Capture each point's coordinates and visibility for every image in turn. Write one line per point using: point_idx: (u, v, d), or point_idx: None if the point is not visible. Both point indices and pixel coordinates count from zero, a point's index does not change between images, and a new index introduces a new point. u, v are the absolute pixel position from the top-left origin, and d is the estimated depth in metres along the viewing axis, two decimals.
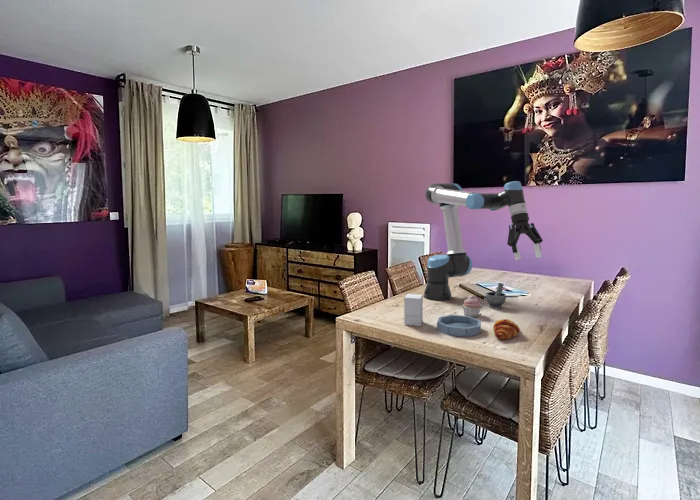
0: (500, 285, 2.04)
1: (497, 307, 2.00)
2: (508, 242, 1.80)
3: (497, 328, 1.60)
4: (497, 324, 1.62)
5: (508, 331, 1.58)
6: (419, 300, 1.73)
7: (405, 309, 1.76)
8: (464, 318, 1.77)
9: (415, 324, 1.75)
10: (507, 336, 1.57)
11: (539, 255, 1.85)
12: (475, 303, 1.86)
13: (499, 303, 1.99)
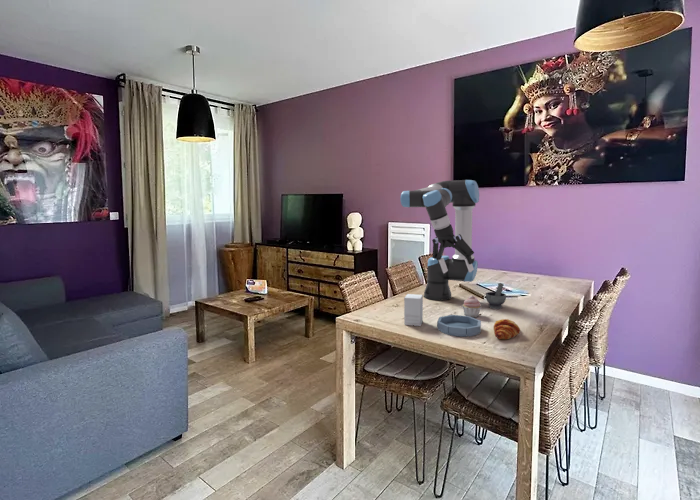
0: (500, 285, 2.04)
1: (497, 307, 2.00)
2: None
3: (497, 328, 1.60)
4: (497, 324, 1.62)
5: (508, 331, 1.58)
6: (419, 300, 1.73)
7: (405, 309, 1.76)
8: (464, 318, 1.77)
9: (415, 324, 1.75)
10: (507, 336, 1.57)
11: None
12: (475, 303, 1.86)
13: (499, 303, 1.99)
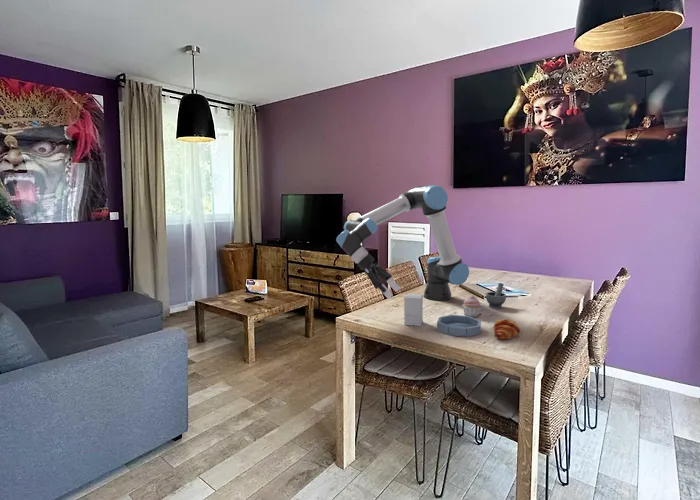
0: (500, 285, 2.04)
1: (497, 307, 2.00)
2: None
3: (497, 328, 1.60)
4: (497, 324, 1.62)
5: (508, 331, 1.58)
6: (419, 300, 1.73)
7: (405, 309, 1.76)
8: (464, 318, 1.77)
9: (415, 324, 1.75)
10: (507, 336, 1.57)
11: None
12: (475, 303, 1.86)
13: (499, 303, 1.99)
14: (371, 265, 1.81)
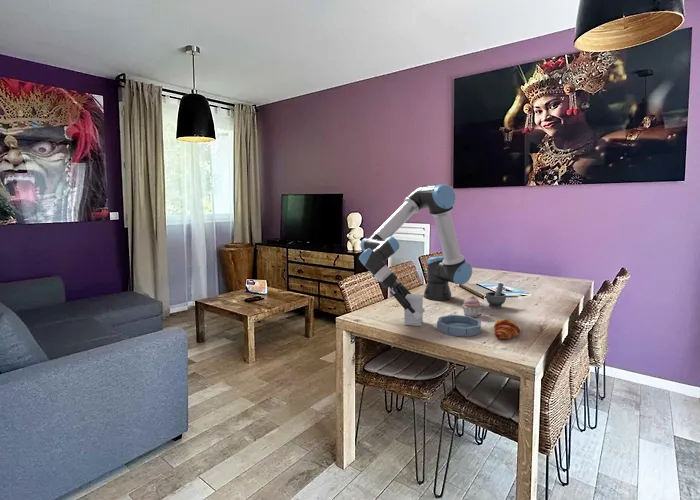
0: (500, 285, 2.04)
1: (497, 307, 2.00)
2: None
3: (497, 328, 1.60)
4: (497, 324, 1.62)
5: (508, 331, 1.58)
6: (419, 300, 1.73)
7: None
8: (464, 318, 1.77)
9: (415, 324, 1.75)
10: (507, 336, 1.57)
11: None
12: (475, 303, 1.86)
13: (499, 303, 1.99)
14: (395, 284, 1.79)
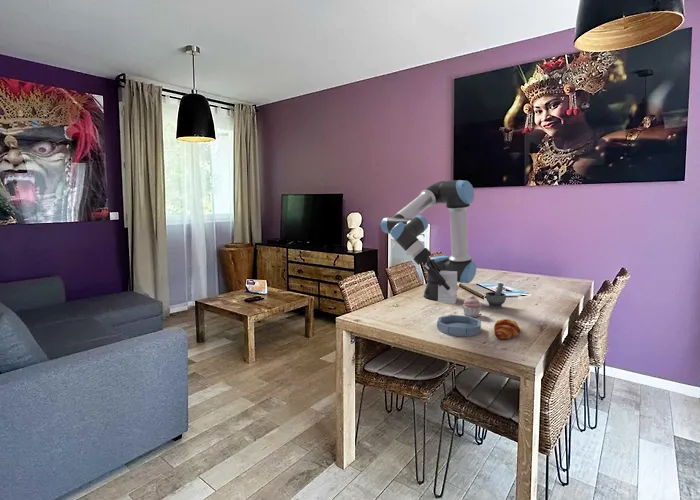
0: (500, 285, 2.04)
1: (497, 307, 2.00)
2: None
3: (497, 328, 1.60)
4: (497, 324, 1.63)
5: (508, 331, 1.58)
6: (454, 276, 1.64)
7: (439, 286, 1.67)
8: (464, 318, 1.77)
9: (449, 302, 1.66)
10: (507, 336, 1.57)
11: None
12: (475, 303, 1.86)
13: (499, 303, 1.99)
14: (428, 259, 1.70)
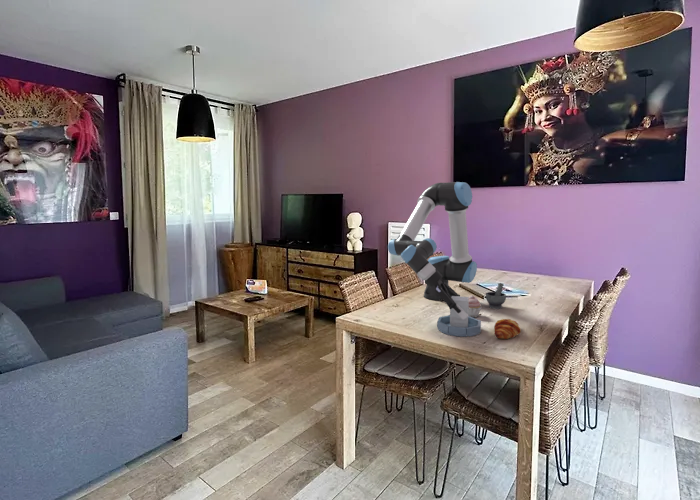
0: (500, 285, 2.04)
1: (497, 307, 2.00)
2: None
3: (497, 327, 1.61)
4: (498, 324, 1.63)
5: (508, 331, 1.58)
6: (466, 302, 1.65)
7: (451, 312, 1.67)
8: None
9: None
10: (506, 336, 1.57)
11: None
12: (475, 303, 1.86)
13: (499, 303, 1.99)
14: (439, 282, 1.70)
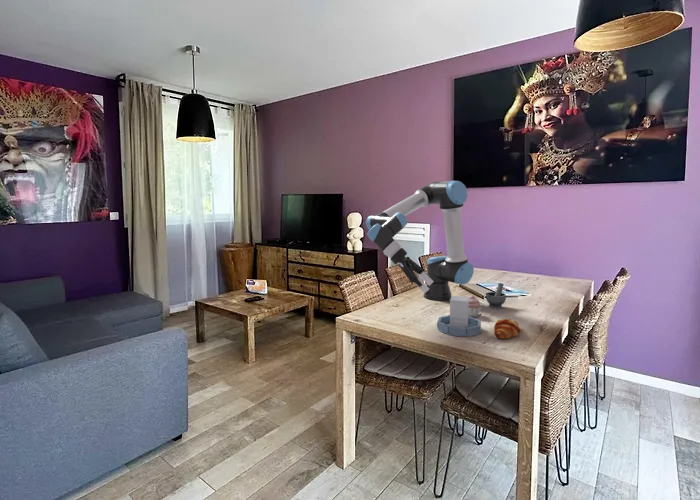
0: (500, 285, 2.04)
1: (497, 307, 2.00)
2: None
3: (497, 327, 1.61)
4: (498, 323, 1.63)
5: (508, 331, 1.58)
6: (466, 303, 1.65)
7: (451, 312, 1.67)
8: None
9: None
10: (506, 335, 1.57)
11: None
12: (475, 303, 1.86)
13: (499, 303, 1.99)
14: (404, 259, 1.76)
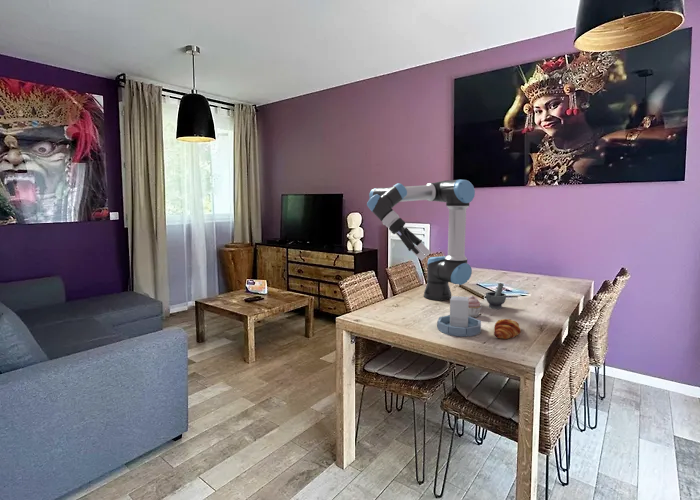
0: (500, 285, 2.04)
1: (497, 307, 2.00)
2: None
3: (497, 327, 1.61)
4: (497, 323, 1.63)
5: (507, 331, 1.58)
6: (466, 303, 1.65)
7: (451, 312, 1.67)
8: None
9: None
10: (506, 336, 1.57)
11: None
12: (475, 303, 1.86)
13: (499, 303, 1.99)
14: (402, 229, 1.81)
